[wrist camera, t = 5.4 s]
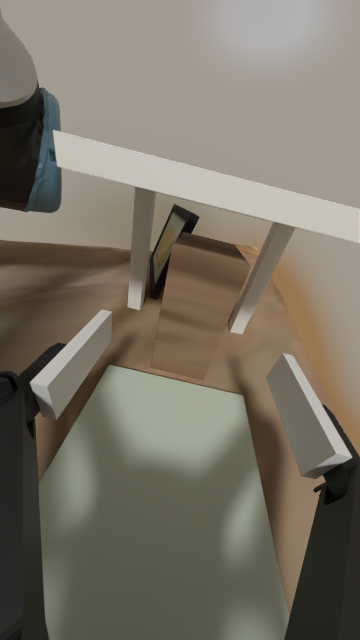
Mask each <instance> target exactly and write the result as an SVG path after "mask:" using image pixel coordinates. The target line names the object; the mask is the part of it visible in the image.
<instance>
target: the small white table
mask: <svg viewBox="0 0 360 640" xmlns="http://www.w3.org/2000/svg"><path fill="white" fill-rule="evenodd" d="M53 136H54V145H55V153H56V161H57V166H58V167H61V168H65V169H69V170H73V171H77V172H80V173H84V174H88V175H92V176H96V177H99V178H103V179H107V180H111V181H114V182H118V183H122V184H126V185H130V186H134V187H135V199H134V215H133V230H132V231H133V232H132V246H131V262H130V278H129V293H128V307H129V308H133V309H137V310H140V309H141V307H142V306H143V302H144V293H145V285H146V276H147V268H148V259H149V250H150V241H151V233H152V224H153V216H154V207H155V199H156V192H157V193H161V194H165V195H169V196H173V197H177V198H181V199H185V200H188V201H192V202H196V203H200V204H204V205H208V206H212V207H216V208H220V209H224V210H228V211H232V212H236V213H240V214H243V215H247V216H251V217H255V218H260V219H263V220H267V221H271V222H273V224H272V226H271V229H270V231H269V234H268V236H267V238H266V240H265V243H264V245H263V247H262V250H261V252H260V254H259V256H258V259H257V261H256V263H255V265H254V268H253V270H252V272H251V275H250V277H249V279H248V282H247V284H246V286H245V288H244V291H243V293H242V295H241V298H240V300H239V302H238V304H237V307H236V309H235V311H234V314H233V316H232V318H231V321H230V323H229V329H230V332H233V333H237V334H241V335H242V333H243V331H244V329H245V327H246V325H247V323H248V321H249V319H250V317H251V315H252V313H253V311H254V309H255V307H256V305H257V303H258V301H259V299H260V297H261V295H262V293H263V291H264V289H265V287H266V285H267V284H268V282H269V280H270V278H271V276H272V273H273V272H274V269H275V267H276V265H277V264H278V262H279V259H280V257H281V255H282V253H283V252H284V250H285V248H286V245H287V243H288V242H289V240H290V238H291V236H292V234H293V232H294V230H295V228H299V229H303V230H307V231H311V232H315V233H319V234H323V235H327V236H332V237H335V238H339V239H343V240H348V241H351V242H356V243H360V209H357V208H354V207H350V206H346V205H342V204H338V203H334V202H330V201H326V200H323V199H319V198H315V197H311V196H307V195H303V194H299V193H295V192H291V191H288V190H284V189H279V188H276V187H272V186H268V185H265V184H261V183H257V182H253V181H249V180H245V179H241V178H237V177H233V176H230V175H226V174H222V173H218V172H214V171H210V170H206V169H203V168H199V167H195V166H191V165H187V164H183V163H179V162H175V161H171V160H168V159H164V158H160V157H156V156H152V155H148V154H145V153H140V152H137V151H133V150H129V149H125V148H121V147H117V146H114V145H110V144H106V143H102V142H98V141H94V140H90V139H86V138H83V137H78V136H75V135H71V134H67V133H63V132H59V131H56V130H53Z"/></svg>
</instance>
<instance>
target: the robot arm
mask: <svg viewBox="0 0 360 640" xmlns="http://www.w3.org/2000/svg"><path fill="white" fill-rule="evenodd" d="M60 129H61V127H60V110H59V104H58V101H57V99H56V98H55V97H54V96H53V95H52V94H50V93H49V92H48V91H47V90H45V88H39V85H38V80H37V74H36V69H35V66H34V63H33V61H32V58H31V56H30V54H29V53H28V51H27V49H26V48H25V46H24V45H23V44H22V42H21V41H20V39H19V38H18V37H17V36H16V34H14V32H13V31H12V30H11V28H10V27H9V26H8V25H7V24H6V22H5V21H4V20H3V18H2V15H1V11H0V207H3V208H8V209H15V210H21V211H23V212H28V211H35V212H45V213H52V212H55V211H57V210H58V209H59V207H60V205H61V190H62V187H61V186H62V185H61V184H62V181H61V180H62V178H61V167H58V166H57V161H56V153H55V145H54V136H53V130H56V131H59V132H61V130H60ZM111 340H112V312H111V311H106V310H101V311H100V312H99V313H98V314H97V315H96V316H95V317H94V318H93V319H92V320H91V321H90V322H89V323H88V324H87V325H86V326H85V327H84V328H83V329H82V330H81V331H80V332H79V333H78V334H77V335H76V336H75V337H74V338H73V339H72V340H71V341H70V342H69V343H68V344H62V343H57V344H55V345H53V346H51V347H50V348H48V349H47V350H46V351H45V352H44V353H43V354H42V355H41V356H40V357H39V358H38V359H37V360H36V361H34V362H33V363H32V364H31V365H30V366H29V367H28V368H27V369H26V370H24V371H23V372H22V373H21V374H20V375H19V376H18V377H17V374H15V373H13V372H10V371H2V372H0V640H49V635H48V630H47V626H46V620H45V606H44V586H43V566H42V546H41V526H40V507H39V487H38V467H37V447H36V427H35V418H34V417H35V416H36V415H37V414H38V412H39V411H40V412H41V415H42V417H46V418H51V419H55V420H57V419H58V417H59V416H60V415H61V413H62V412H63V410H64V409H65V407H66V406H67V404H68V403H69V401H70V400H71V399H72V397H73V396H74V394H75V393H76V391H77V390H78V388H79V387H80V385H81V384H82V383H83V381H84V380H85V378H86V377H87V375H88V374H89V372H90V371H91V369H92V368H93V367H94V365H95V364H96V362H97V361H98V359H99V358H100V356H101V355H102V353H103V352H104V351H105V349H106V348H107V346H108V345H109V343H110V342H111ZM266 378H267V381H268V384H269V387H270V390H271V392H272V395H273V398H274V401H275V403H276V406H277V409H278V412H279V415H280V417H281V420H282V423H283V426H284V429H285V431H286V434H287V437H288V440H289V443H290V445H291V448H292V451H293V454H294V456H295V459H296V462H297V465H298V468H299V470H300V473H301V476H304V477H308V478H312V479H317V478H318V477H320V476H322V475H323V476H324V478H325V481H326V482H325V483H323V484H321V485H319V486H317V487H315V489H314V490H313V491H314V492H315V493H316V492H318V491H320V490H321V492H320V495H319V500H318V504H317V508H316V512H315V517H314V521H313V525H312V529H311V533H310V537H309V541H308V545H307V549H306V553H305V557H304V561H303V565H302V569H301V573H300V577H299V581H298V585H297V589H296V593H295V598H294V602H293V606H292V610H291V614H290V618H289V622H288V626H287V630H286V634H285V638H284V640H360V457H359V455H358V454H357V452H356V450H355V449H354V447H353V445H352V444H351V442H350V441H349V439H348V437H347V436H346V434H345V433H344V432H343V429H342V428H341V426H340V425H339V423H338V421H337V420H336V418H335V416H334V415H333V413H332V412H331V411H330V410H329V409H328V408H327V407H326V406H325V405H322V404H321V403H320V401H319V399H318V398H317V396H316V394H315V393H314V391H313V389H312V388H311V386H310V384H309V382H308V381H307V379H306V377H305V376H304V374H303V372H302V371H301V369H300V367H299V365H298V364H297V362H296V360H295V359H294V357H293V355H289V354H285V353H283V354H282V355H281V356H280V358H279V359H278V361H277V362H276V363H275V365H274V366H273V368H272V369H271V371H270V372H269V373H268V375H267V376H266Z"/></svg>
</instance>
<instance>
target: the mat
mask: <svg viewBox="0 0 360 640" xmlns="http://www.w3.org/2000/svg"><path fill="white" fill-rule="evenodd" d="M38 487H39V507H40V526H41V546H42V566H43V586H44V606H45V620H46V626H47V630H48V635H49V640H284V638H285V634H286V630H287V626H288V622H289V614H288V610H287V605H286V600H285V595H284V590H283V586H282V581H281V576H280V571H279V566H278V562H277V557H276V552H275V547H274V542H273V537H272V533H271V528H270V523H269V518H268V513H267V509H266V504H265V499H264V494H263V489H262V484H261V480H260V475H259V470H258V465H257V460H256V456H255V451H254V446H253V441H252V436H251V431H250V427H249V422H248V417H247V412H246V407H245V403H244V398H243V395H238V394H234V393H230V392H225V391H221V390H217V389H213V388H208V387H204V386H200V385H195V384H191V383H187V382H182V381H178V380H174V379H170V378H165V377H161V376H157V375H152V374H148V373H144V372H139V371H135V370H131V369H126V368H122V367H118V366H114V365H109V366H108V367H107V369H106V371H105V373H104V374H103V376H102V378H101V379H100V381H99V383H98V384H97V386H96V388H95V389H94V391H93V393H92V395H91V396H90V398H89V400H88V401H87V403H86V405H85V406H84V408H83V410H82V411H81V413H80V415H79V417H78V418H77V420H76V422H75V423H74V425H73V427H72V428H71V430H70V432H69V433H68V435H67V437H66V438H65V440H64V442H63V444H62V445H61V447H60V449H59V450H58V452H57V454H56V455H55V457H54V459H53V460H52V462H51V464H50V466H49V467H48V469H47V471H46V472H45V474H44V476H43V477H42V479H41V481H40V482H39V484H38Z"/></svg>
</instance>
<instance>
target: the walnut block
mask: <svg viewBox="0 0 360 640" xmlns="http://www.w3.org/2000/svg"><path fill="white" fill-rule="evenodd" d="M250 268H251V266H250V265H249V263H248V262H247V261H246V259H245V258H244V257H243V256H242V254H241V253H240V252H239V250H238V249H237V248H236V246H235V245H234V244H230V243H226V242H222V241H218V240H214V239H210V238H206V237H202V236H198V235H193V234H190V233H186V232H183V233H182V234H181V236H180V237H179V238H178V240H177V241H176V242H175V244H174V245H173V246H172V249H171V255H170V261H169V266H168V272H167V278H166V283H165V289H164V294H163V300H162V306H161V311H160V317H159V322H158V328H157V334H156V339H155V345H154V350H153V356H152V362H151V367H150V368H153V369H158V370H162V371H166V372H171V373H175V374H179V375H183V376H188V377H192V378H196V379H201V380H203V378H204V376H205V374H206V371H207V369H208V367H209V364H210V362H211V360H212V357H213V355H214V353H215V350H216V348H217V346H218V343H219V341H220V339H221V336H222V334H223V332H224V329H225V327H226V325H227V322H228V320H229V318H230V315H231V313H232V311H233V308H234V306H235V304H236V301H237V299H238V297H239V294H240V292H241V290H242V287H243V285H244V283H245V280H246V278H247V276H248V273H249V271H250Z"/></svg>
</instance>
